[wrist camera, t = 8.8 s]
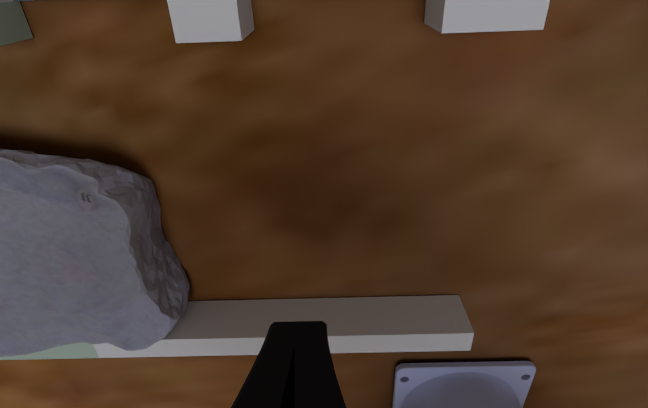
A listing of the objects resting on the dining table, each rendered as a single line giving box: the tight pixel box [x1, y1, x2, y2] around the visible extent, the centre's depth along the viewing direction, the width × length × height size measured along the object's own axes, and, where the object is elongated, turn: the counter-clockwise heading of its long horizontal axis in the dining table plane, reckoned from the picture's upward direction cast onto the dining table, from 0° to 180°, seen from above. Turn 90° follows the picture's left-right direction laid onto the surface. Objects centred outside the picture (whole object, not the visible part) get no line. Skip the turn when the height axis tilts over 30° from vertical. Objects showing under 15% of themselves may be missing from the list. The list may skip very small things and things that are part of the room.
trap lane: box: [0, 0, 550, 360], centre depth 15 cm, size 22×30×2 cm
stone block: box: [0, 148, 190, 357], centre depth 18 cm, size 12×5×10 cm
